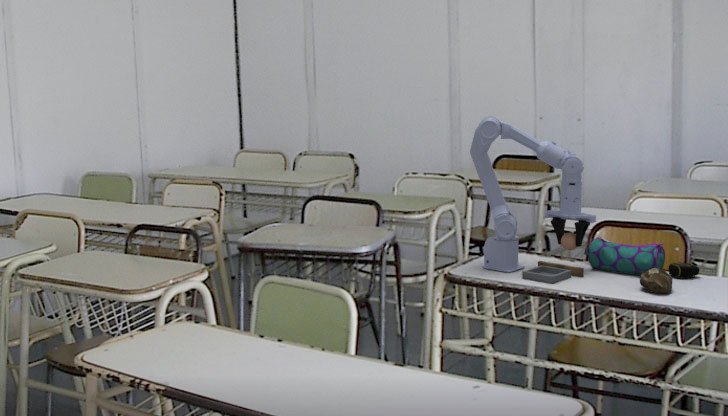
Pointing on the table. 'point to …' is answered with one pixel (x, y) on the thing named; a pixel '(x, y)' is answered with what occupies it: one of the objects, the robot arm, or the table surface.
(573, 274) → the walnut rail
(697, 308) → the table surface
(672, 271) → the tape measure
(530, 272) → the tray
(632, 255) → the pencil case
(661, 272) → the brown rock
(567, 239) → the ball
